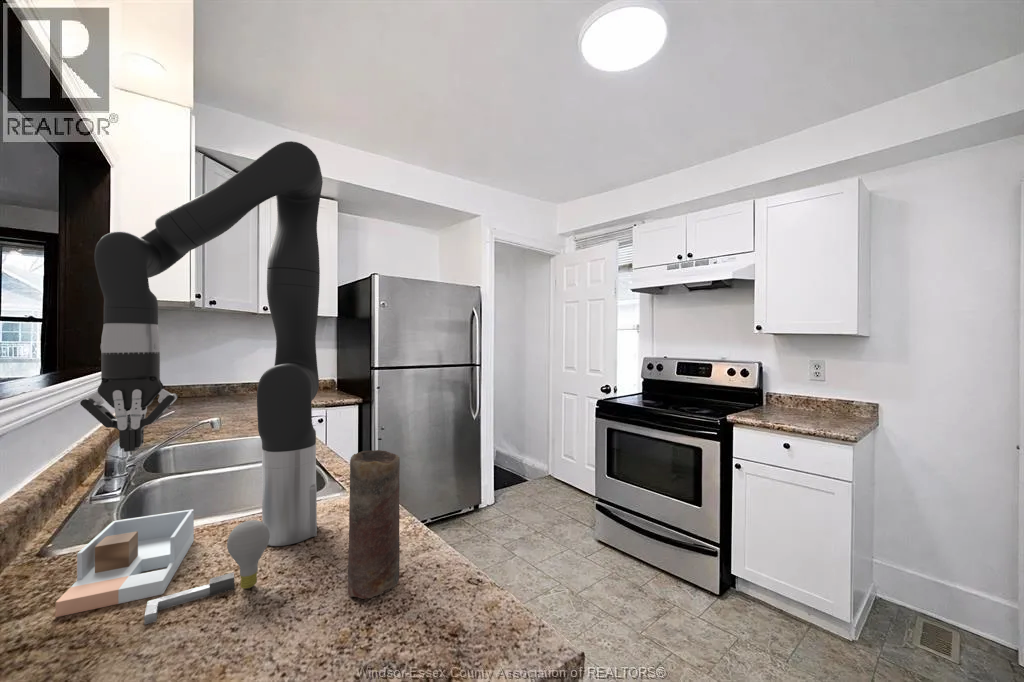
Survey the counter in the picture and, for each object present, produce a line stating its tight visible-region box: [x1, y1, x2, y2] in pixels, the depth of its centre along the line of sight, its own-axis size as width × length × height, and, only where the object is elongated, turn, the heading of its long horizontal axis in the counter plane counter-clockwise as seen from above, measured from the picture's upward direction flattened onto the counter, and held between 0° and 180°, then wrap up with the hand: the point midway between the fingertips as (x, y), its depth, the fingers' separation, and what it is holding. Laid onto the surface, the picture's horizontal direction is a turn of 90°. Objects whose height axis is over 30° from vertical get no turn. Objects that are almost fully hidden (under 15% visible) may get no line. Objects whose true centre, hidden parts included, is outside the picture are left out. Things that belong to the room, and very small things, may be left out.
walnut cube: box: [95, 531, 138, 573], centre depth 67 cm, size 4×4×4 cm
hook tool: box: [143, 572, 235, 626], centre depth 60 cm, size 10×4×2 cm, turn 126°
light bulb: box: [226, 519, 270, 590], centre depth 63 cm, size 5×6×10 cm
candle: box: [347, 449, 401, 600], centre depth 63 cm, size 8×7×20 cm
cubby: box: [54, 508, 195, 618], centre depth 68 cm, size 12×19×6 cm, turn 26°
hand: (131, 450), depth 72 cm, fingers closed
